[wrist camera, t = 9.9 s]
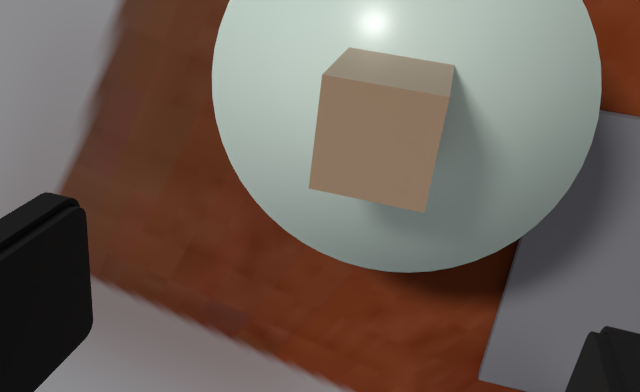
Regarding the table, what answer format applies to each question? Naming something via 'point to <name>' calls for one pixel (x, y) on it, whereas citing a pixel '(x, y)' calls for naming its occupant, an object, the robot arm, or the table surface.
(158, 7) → the table surface
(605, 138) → the mat
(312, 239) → the lid
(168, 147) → the table surface
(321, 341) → the table surface
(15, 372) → the robot arm
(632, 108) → the table surface
